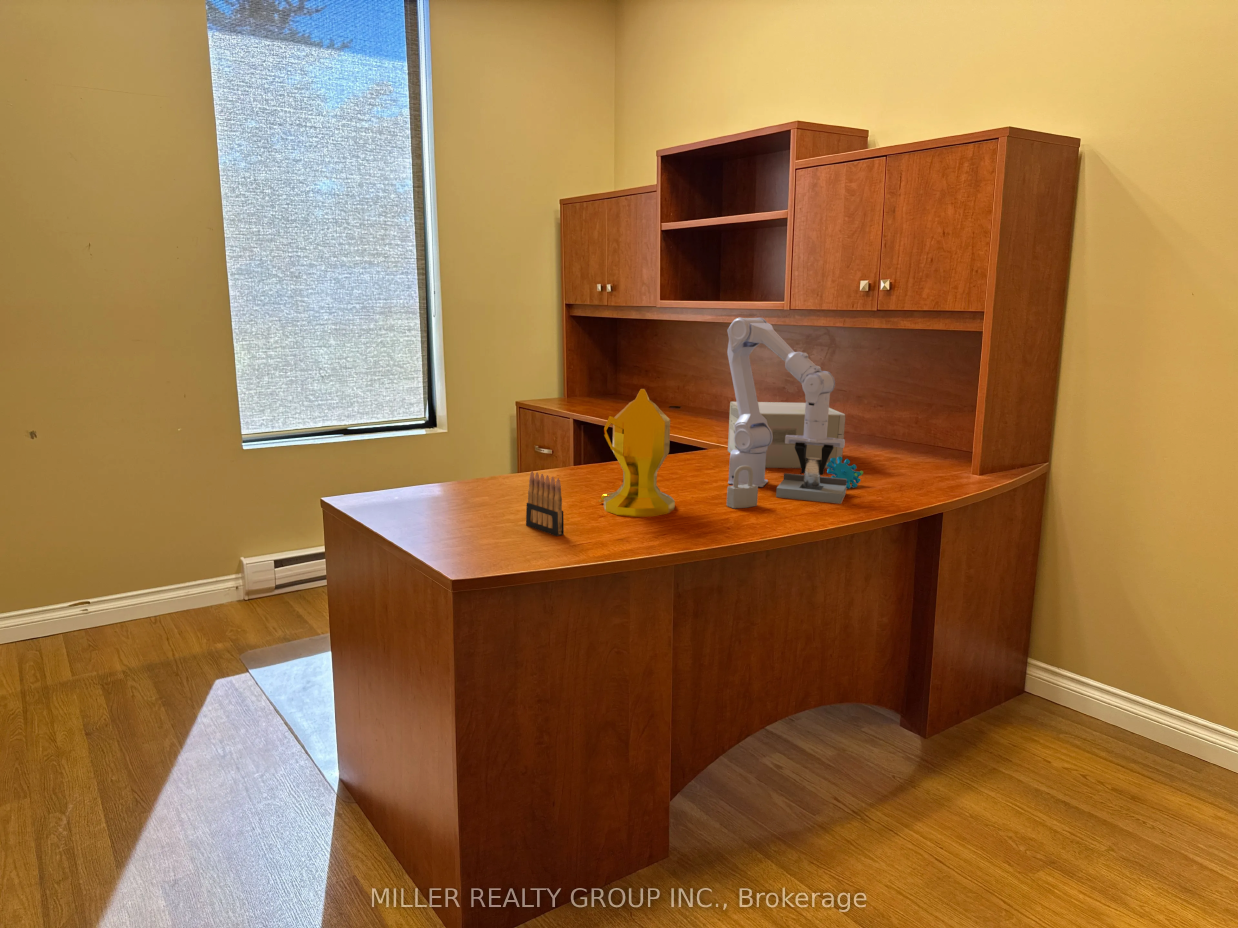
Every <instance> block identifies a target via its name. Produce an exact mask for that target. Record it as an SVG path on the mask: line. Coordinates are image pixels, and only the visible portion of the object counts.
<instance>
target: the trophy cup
mask: <svg viewBox="0 0 1238 928" xmlns="http://www.w3.org/2000/svg"><path fill="white" fill-rule="evenodd" d="M649 397H650V396H649V395H648V393H647V391H646V389H645V388H640V390H639V391H638V393H637V395H636V397H635V399H633V400H631V401H630V402H628V404H626V406H625V407H624V408H623V409H621V410H620V411H619V412H618V413H617V414H616V415H615V416H614V417H613V416H611V415H609V416H608V419H607V421H606V423H605V425H604V428H603V436H604V438H605V440H606V442H607V444H608V446H609V447H610V450H611V451H612V452H613V455H614V457H615V458H616V459H617V461H618V463H619V465H620V468H621V469H622V472H623V475H622V477H623V478H622V484H621V485H620V487H619V488H618V489H617V490H616V491H614V492H613V491H610V492H607V493H604V494H601V496H600V497H601V498H600V500H598V503H599V502H600V503H601V502H603V508H604V511H605V512H607V513H610V514H612V515H616V516H621V517H631V518H646V517H647V518H648V517H649V518H650V517H657V516H662V515H667V514H670V513H671V512H672V511H674V510H675V505H676V503H675V499H674V498H673V497H672V496H671V495H669V494H667V493H665V492H662V491H661V490H660V488H659V487H658V485H657V478H658V477H657V476H658V471H659V470H660V469H661V466H662V465H663V463H664V461H665V460H666V458H667V457H668V455H669V453H670V440H671V437H670V435H671V419H670V418H669V417H668V416H667V415H666V414H665V413H664V411H663V410H661V409H660V408H659V406H658V405H657V404H656V403H655V402H653V400H650V398H649ZM610 425H612V442H611V439H610V436H609V434H608V432H607V430H608V428H609V426H610Z"/></svg>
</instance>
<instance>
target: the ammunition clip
mask: <svg viewBox="0 0 1238 928" xmlns="http://www.w3.org/2000/svg"><path fill="white" fill-rule="evenodd" d="M528 482H529V483H528V490H527V494H528V495H527V502H526V508H525V509H526V510H525V511H526V512H525V514H526V516H525V517H526V518H525V521H526V522H525V526H527V527H529V528H533V529H535V530H538V531H540V532H543V533H546V534H549V535H552V536H555V537H559V536H563V535H564V534H565V532H564V529H565V526H564V523H565V521H564V519H565V518H564V510H563V498H562V485H561V480H560V478H557V479H556V481H555V477H554V476H552V477H551V479H550V476H549V475H548V474H546V477H545V475H544V474H543V473H541V475H539V472H536V473H534V471H533V470H531V471H530V474H529V481H528Z"/></svg>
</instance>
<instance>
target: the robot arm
mask: <svg viewBox="0 0 1238 928" xmlns="http://www.w3.org/2000/svg"><path fill="white" fill-rule="evenodd" d="M726 331H727V336H728V344H727V358H728V365H729V369H730V375H731V379H732V384H733V391H734V395H735V400H736V401H735V402H737V406H738V412H739V419H738V420H737V422H736V423H735V425H734V427H735V435H734V442H735V445H736V447H737V448H738V450H732V451H731V454H730V455H729V462H728V463H729V465H728V482H727V484H729V485H733V483H734V473H735V470H736V469H737V468H738V467H740V466H744V465H746V466H749V467H751V469H752V471H753V483H752V485H755V486H758V488H763V487H764V486H765V485H766V484H767V483H768V482H769V480H768V479H766V468H765V465H766V451H767V448H768V446H769V445H770V444H771V442H772V439H773V435H772V431H771V429H770V428H769V426H768V424H767V420H766V419H765V418H764V417H763V416H762V415H761V414H760V411H759V406H758V402H759V401H758V396H757V391H756V385H755V380H754V375H753V370H752V365H751V358H750V355H751V353H753V351H754V349H755V348H756V347H758V346H759V345H760V344H762V345H764V346H765V347H767V348H768V349H769V350H771V352H773V353H774V354H775V355H777V357H779V358H780V359H781V360H782V361H783V362H784V363H785V364H784V368H785V370H786V371H787V372H788V373H790V374H791V375H792V377H793V378H794V379H796V380H797V381H798V382H799V383H800V384H801V387H802V391H803V392H804V394H805V395H804V397H805V398H804V399H805V403H806V406H805V421H804V435H786V436H785V443H787V444H789V443H793V444H795V450H796V452H797V455H798V458H799V461H800V465H801V468H800V473H801V474H804V468H805V458H806V449H807V445H818V446H824V447H822V460H821V468H820V476H823V475H825V474H824V472H825V466H826V463H827V460H828V458H829V456H830V454H831V452H832V450H833V448H834V447H839V448H843V449H844V448H845V444H846V439H837V438H829V437H827V426H828V413H829V408H830V399H831V398H830V397H831V393H832V392H833V391H834V389H835V387H836V380H835V377H834V376H833V374H832V373H831V372H830V371H828V370H827V371H826V370H822V367H821V366H820V365H816V364H815V363H814V362H813V361H812V360H811V359H810V358H809V354H808V353H807V352H802V351H794V349H793V348H792V347H791V346H790V345H789V344H788V343H787V342H786V340H784V339H783V338H782V337H781V336H780V335H779V334H778V333H777V332H776V330H774V327H773V325H772V324H771V323H769V322H768V321H767V320H766V319H765V318H763V317H751V318H749V317H747V318H746V317H745V318H744V317H738V318H737V317H736V318H735V319H734V320H733V321H732V322H731V324H730V325H729V327H728V328H727V330H726ZM750 426H752V427H750ZM810 442H812V443H810ZM822 443H823V444H822ZM742 484H743V485H744V484H748V471H747V470H742V471H740V473H739V478H738V485H742Z"/></svg>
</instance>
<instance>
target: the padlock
mask: <svg viewBox="0 0 1238 928" xmlns="http://www.w3.org/2000/svg"><path fill="white" fill-rule="evenodd" d="M742 470H747V471H748V484H744V485H743V484H742V485H738V478H739V473H740V471H742ZM752 483H753V471H752V469H751V467H749V466H746V465H744V466H740V467H738V468H737V469H736V470H735V473H734V483H733V484H732V485H728V486H727V488H726V490H727V492H726V506H727V507H729V508H732V509H744V508H745V509H746V508H747V509H748V508H751V507H757V506H758V498H759V496H758V495H759V487H758V486H755V485H752Z"/></svg>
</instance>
